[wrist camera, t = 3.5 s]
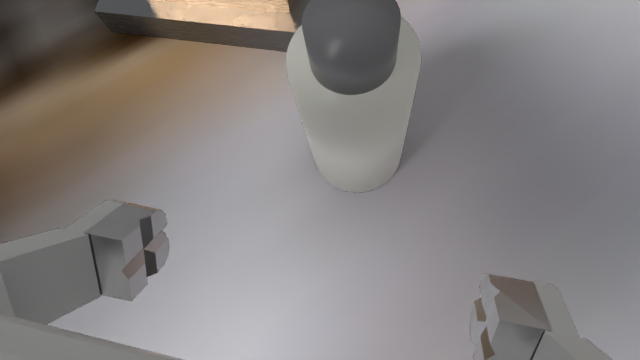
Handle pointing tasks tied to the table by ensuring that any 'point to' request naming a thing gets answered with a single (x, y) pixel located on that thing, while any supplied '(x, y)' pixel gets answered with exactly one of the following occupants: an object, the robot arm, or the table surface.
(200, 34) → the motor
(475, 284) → the table surface
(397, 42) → the white capped bottle
